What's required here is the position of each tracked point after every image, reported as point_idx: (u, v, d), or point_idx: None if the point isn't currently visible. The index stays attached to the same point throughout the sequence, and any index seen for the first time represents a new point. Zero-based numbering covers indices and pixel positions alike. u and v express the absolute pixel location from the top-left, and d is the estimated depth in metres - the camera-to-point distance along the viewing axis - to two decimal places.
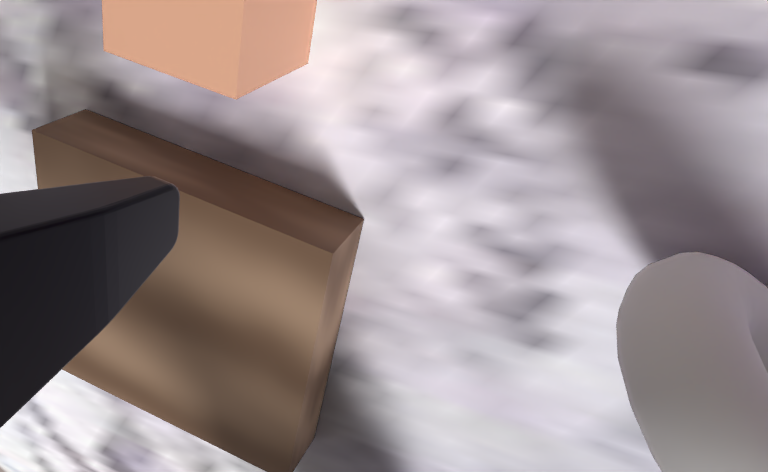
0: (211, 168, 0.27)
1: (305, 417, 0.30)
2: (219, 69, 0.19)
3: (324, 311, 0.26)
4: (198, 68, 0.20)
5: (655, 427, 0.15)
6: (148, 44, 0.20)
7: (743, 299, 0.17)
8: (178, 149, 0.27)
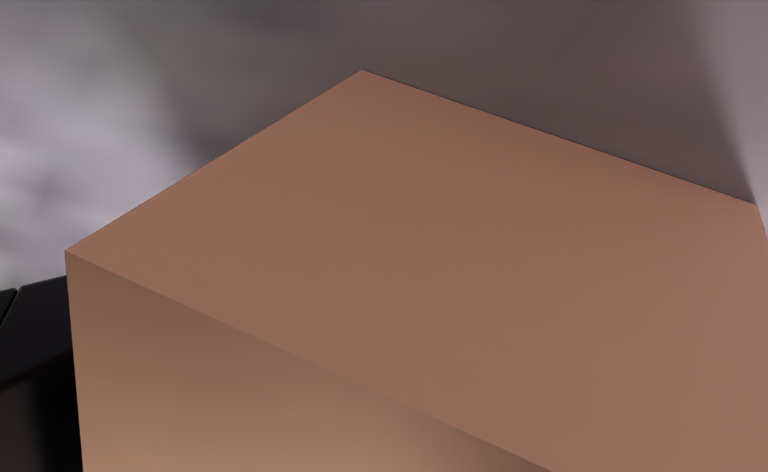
0: None
1: None
2: None
3: None
4: None
5: None
6: None
7: None
8: None
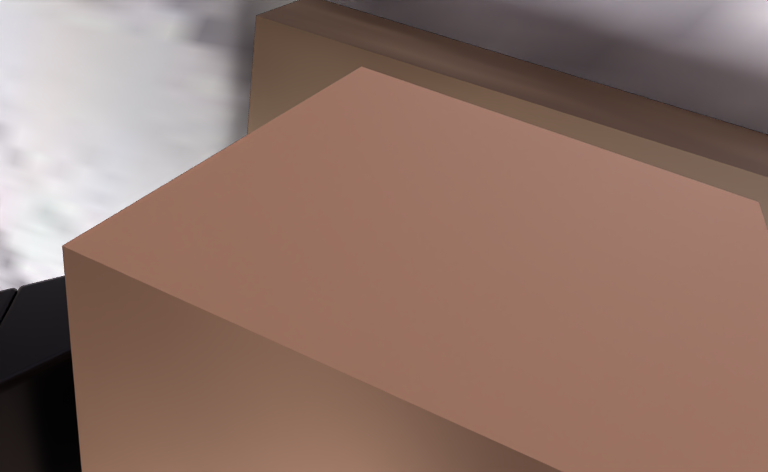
0: (550, 77, 0.16)
1: None
2: None
3: None
4: None
5: None
6: None
7: None
8: (481, 51, 0.17)
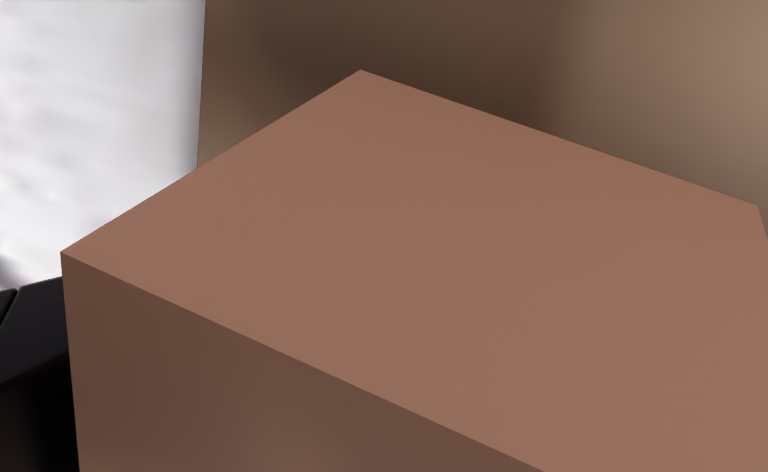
0: None
1: None
2: None
3: None
4: None
5: None
6: None
7: None
8: None
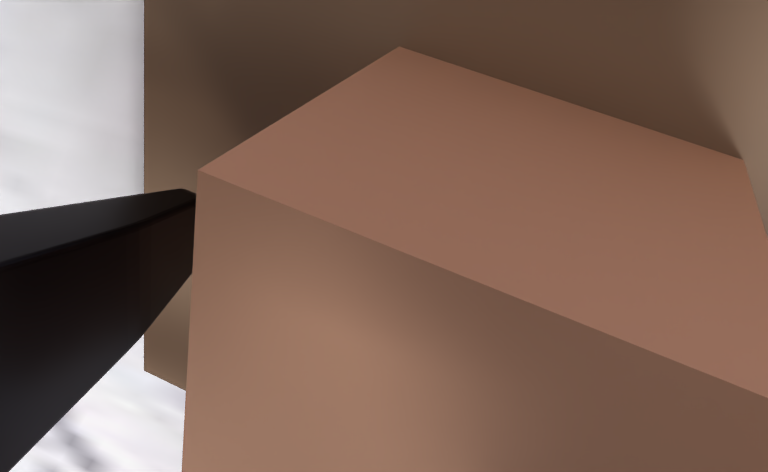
0: None
1: None
2: None
3: None
4: None
5: None
6: None
7: None
8: None
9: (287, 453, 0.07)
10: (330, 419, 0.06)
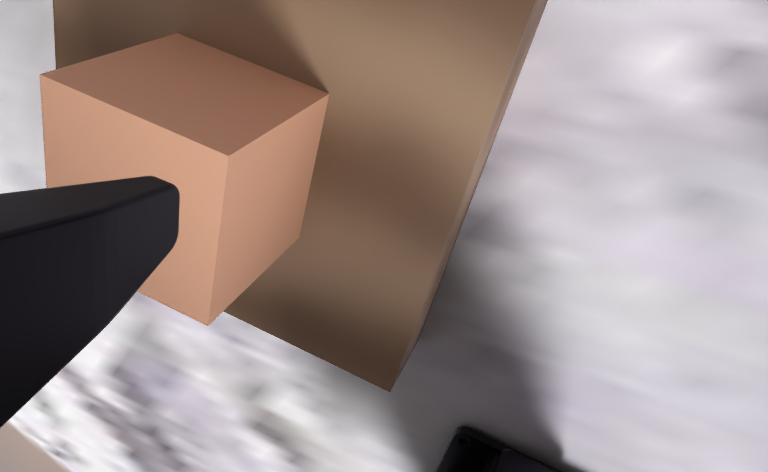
0: None
1: (428, 295, 0.20)
2: (188, 293, 0.16)
3: (498, 103, 0.16)
4: (163, 287, 0.16)
5: None
6: None
7: None
8: None
9: None
10: (98, 181, 0.15)
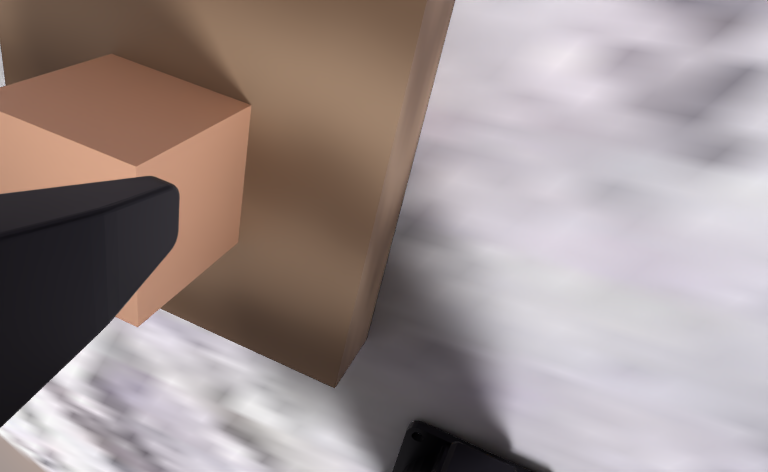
0: None
1: (363, 293, 0.21)
2: None
3: (405, 108, 0.17)
4: None
5: None
6: None
7: None
8: None
9: None
10: None
